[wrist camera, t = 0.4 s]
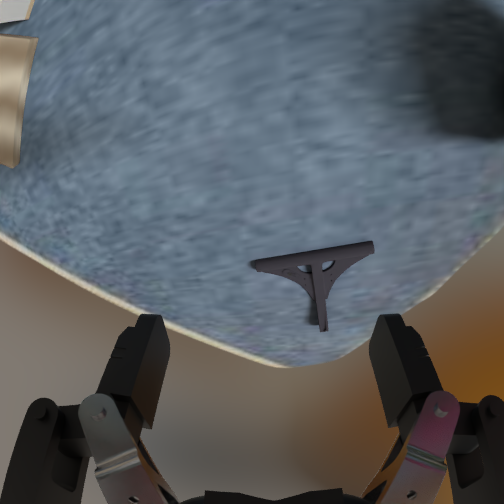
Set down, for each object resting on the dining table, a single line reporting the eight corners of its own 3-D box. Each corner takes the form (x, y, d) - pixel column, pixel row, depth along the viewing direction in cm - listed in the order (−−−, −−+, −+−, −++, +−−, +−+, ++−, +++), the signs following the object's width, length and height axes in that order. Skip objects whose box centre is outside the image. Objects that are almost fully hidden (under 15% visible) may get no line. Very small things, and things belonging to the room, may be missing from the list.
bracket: (276, 327, 47) (277, 342, 45) (255, 256, 38) (254, 272, 36) (367, 312, 45) (371, 326, 43) (370, 237, 36) (376, 251, 33)
